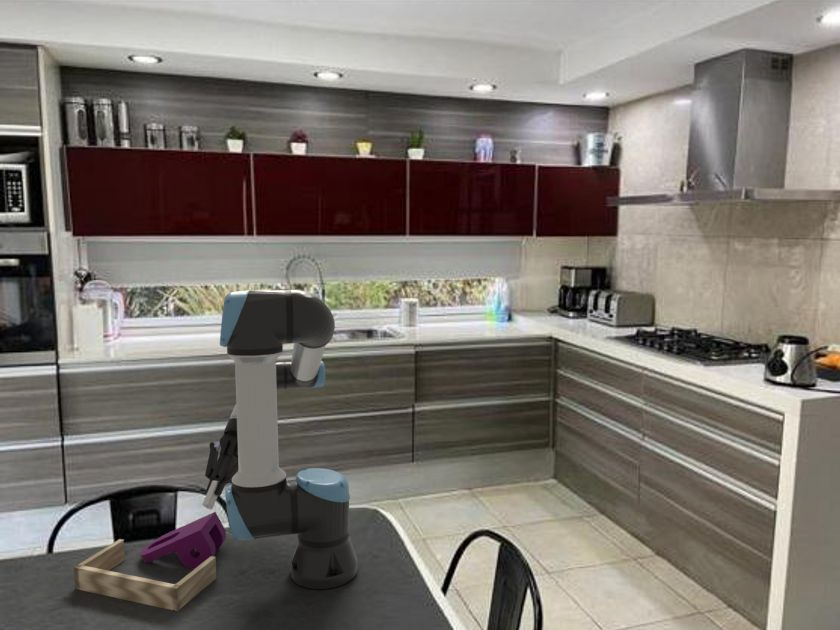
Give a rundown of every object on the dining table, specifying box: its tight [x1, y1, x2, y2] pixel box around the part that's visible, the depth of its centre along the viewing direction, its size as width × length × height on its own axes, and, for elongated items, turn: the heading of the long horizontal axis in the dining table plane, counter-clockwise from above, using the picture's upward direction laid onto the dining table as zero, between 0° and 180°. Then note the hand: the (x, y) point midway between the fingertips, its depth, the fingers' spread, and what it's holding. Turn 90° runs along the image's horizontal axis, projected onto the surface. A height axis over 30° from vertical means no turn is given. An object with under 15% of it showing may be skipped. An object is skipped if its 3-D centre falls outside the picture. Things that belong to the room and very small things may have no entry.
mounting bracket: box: [139, 511, 227, 569], centre depth 151 cm, size 10×8×18 cm
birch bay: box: [73, 538, 217, 612], centre depth 140 cm, size 26×13×5 cm, turn 72°
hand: (207, 506), depth 160 cm, fingers closed
